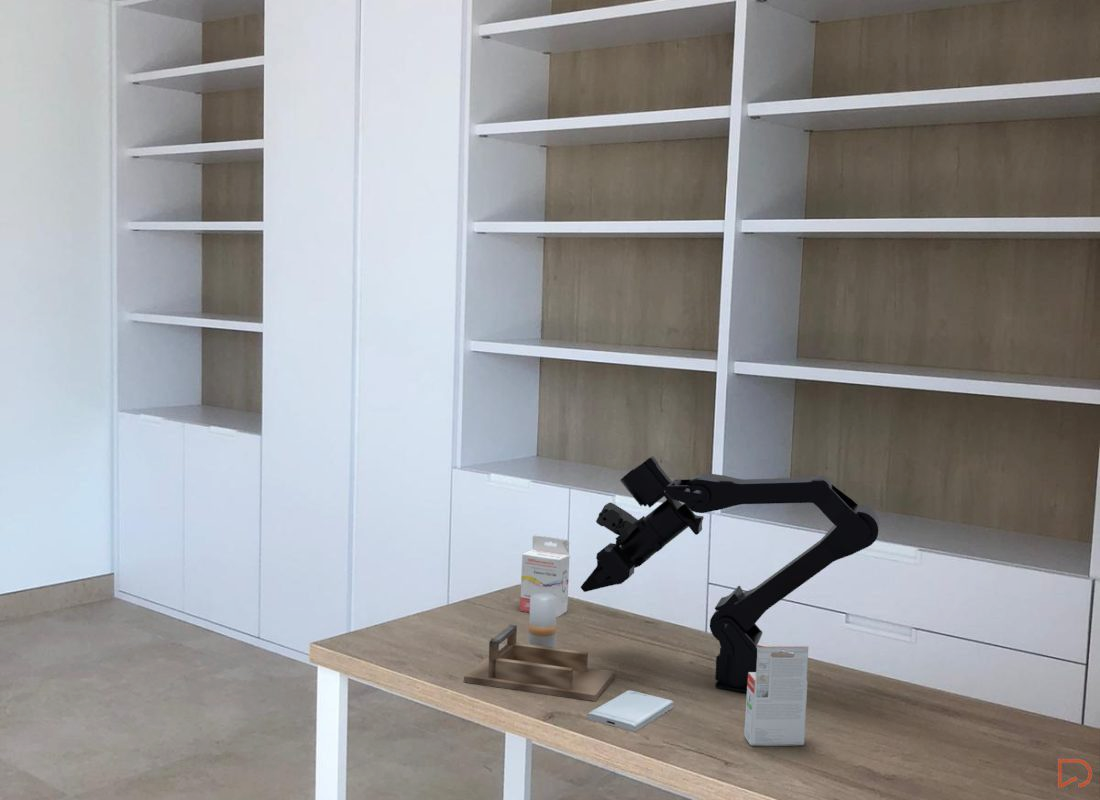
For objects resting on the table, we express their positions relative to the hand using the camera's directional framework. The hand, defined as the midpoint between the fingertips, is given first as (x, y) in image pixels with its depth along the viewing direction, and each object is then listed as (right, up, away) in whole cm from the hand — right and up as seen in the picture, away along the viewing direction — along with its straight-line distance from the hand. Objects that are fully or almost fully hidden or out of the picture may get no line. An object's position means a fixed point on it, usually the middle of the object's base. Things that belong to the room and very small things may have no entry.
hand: (589, 583), depth 193 cm
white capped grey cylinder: (-8, -14, +4) cm, 16 cm away
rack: (-8, -15, -7) cm, 18 cm away
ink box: (+25, -18, -30) cm, 43 cm away
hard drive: (+6, -17, -20) cm, 27 cm away
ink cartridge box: (-8, -11, +33) cm, 36 cm away
